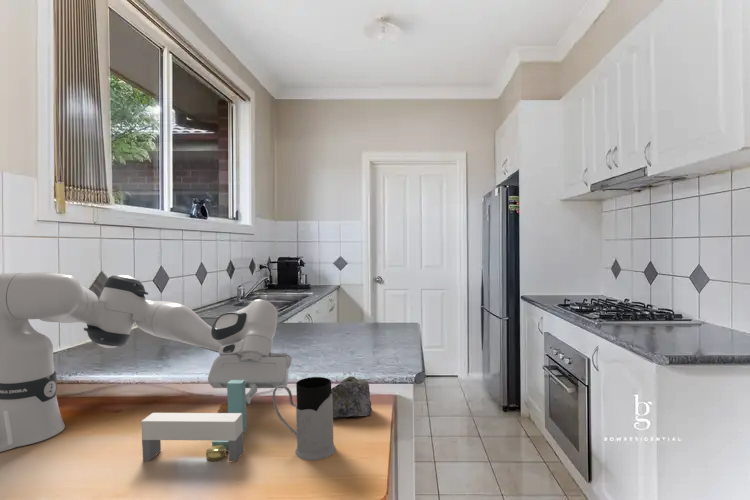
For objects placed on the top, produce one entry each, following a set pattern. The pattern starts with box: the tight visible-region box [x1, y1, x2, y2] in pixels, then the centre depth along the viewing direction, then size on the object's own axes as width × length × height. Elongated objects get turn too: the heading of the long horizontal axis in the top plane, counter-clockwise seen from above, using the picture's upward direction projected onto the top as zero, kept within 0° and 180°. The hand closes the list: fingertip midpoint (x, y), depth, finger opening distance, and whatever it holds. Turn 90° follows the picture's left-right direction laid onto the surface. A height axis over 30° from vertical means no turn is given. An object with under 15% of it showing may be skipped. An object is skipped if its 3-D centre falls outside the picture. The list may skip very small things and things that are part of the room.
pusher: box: [211, 380, 248, 452], centre depth 109 cm, size 4×12×12 cm, turn 177°
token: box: [205, 445, 227, 463], centre depth 101 cm, size 4×4×2 cm
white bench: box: [140, 412, 244, 462], centre depth 101 cm, size 20×4×8 cm, turn 87°
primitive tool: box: [216, 402, 228, 413], centre depth 122 cm, size 19×6×4 cm, turn 7°
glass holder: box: [272, 376, 336, 461], centre depth 103 cm, size 9×14×15 cm, turn 74°
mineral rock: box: [331, 376, 373, 418], centre depth 122 cm, size 13×11×10 cm
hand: (243, 403), depth 117 cm, fingers closed
